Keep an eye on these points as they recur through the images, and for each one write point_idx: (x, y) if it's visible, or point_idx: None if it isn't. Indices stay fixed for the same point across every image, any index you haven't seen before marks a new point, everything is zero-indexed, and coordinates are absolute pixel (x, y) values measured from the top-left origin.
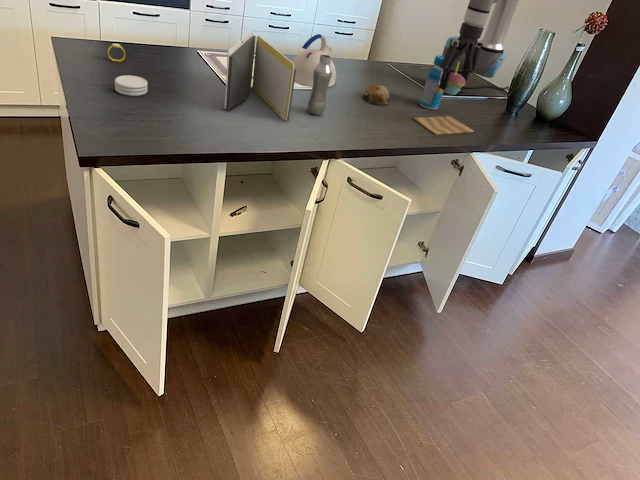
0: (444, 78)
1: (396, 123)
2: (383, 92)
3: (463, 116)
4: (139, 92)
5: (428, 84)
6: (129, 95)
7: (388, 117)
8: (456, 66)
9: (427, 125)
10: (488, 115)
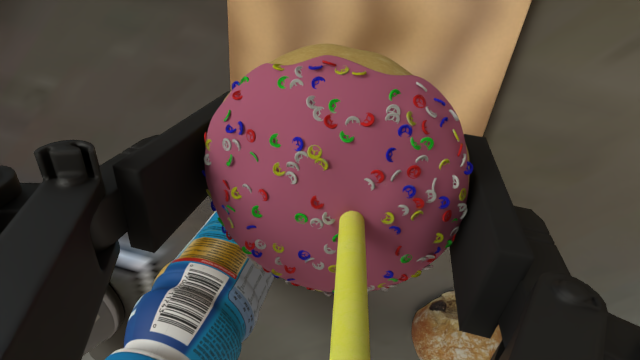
0: (528, 221)
1: (634, 148)
2: (487, 344)
3: (149, 102)
4: None
5: (259, 304)
6: None
7: (594, 209)
8: (365, 314)
9: (485, 63)
10: (9, 75)
